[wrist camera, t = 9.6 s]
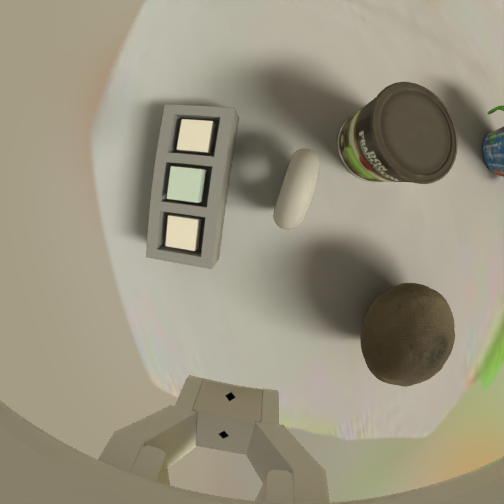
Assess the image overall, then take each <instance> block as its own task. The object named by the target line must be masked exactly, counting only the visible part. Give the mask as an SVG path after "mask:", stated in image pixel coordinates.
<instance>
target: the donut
mask: <svg viewBox="0 0 504 504" xmlns="http://www.w3.org/2000/svg"><path fill="white" fill-rule="evenodd" d="M319 169H320V162H319V158H318V156H317V155H316V153H315V152H313V151H311V150H309V149H300V150H297V151H296V152H295V153H294V154H293V155H292V157H291V160H290V162H289V165H288V168H287V171H286V174H285V177H284V180H283V183H282V186H281V190H280V193H279V196H278V199H277V202H276V206H275V209H274V215H273V217H274V221H275V223H276V224H277V225H278V226H279V227H280V228H282V229H286V230H290V229H294V228H296V227H297V226H298V225H299V224H300V223H301V222H302V220H303V218H304V216H305V214H306V212H307V210H308V207H309V205H310V202H311V199H312V196H313V194H314V190H315V187H316V183H317V179H318V175H319Z"/></svg>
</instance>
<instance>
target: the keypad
mask: <svg viewBox="0 0 504 504" xmlns="http://www.w3.org/2000/svg"><path fill="white" fill-rule="evenodd" d="M182 119H188V120H205V121H213V122H214V123H215V124H216V126H215V132H214V138H213V144H212V150H211V154H206V153H196V152H184V151H179V150H177V144H178V138H179V132H180V126H181V121H182ZM238 122H239V116H238V114H237V112H236V110H235V108H225V107H212V106H195V105H165V107H164V112H163V117H162V122H161V128H160V133H159V139H158V146H157V152H156V159H155V166H154V174H153V182H152V190H151V199H150V210H149V221H148V234H147V251H146V257H148V258H154V259H159V260H164V261H170V262H175V263H181V264H186V265H192V266H198V267H203V268H209V269H212V268H213V266H214V265H215V263H216V262H217V260H218V259H219V252H220V244H221V236H222V229H223V221H224V214H225V207H226V200H227V193H228V186H229V179H230V172H231V166H232V159H233V153H234V146H235V140H236V134H237V128H238ZM171 166H174V167H185V168H194V169H203V170H206V176H205V183H204V190H203V197H202V202H199V203H196V202H188V201H181V200H173V199H167V192H168V184H169V176H170V169H171ZM171 214H178V215H185V216H192V217H199V218H202V222H201V230H200V239H199V248H198V249H196V250H195V251H192V250H186V249H180V248H174V247H168V246H165V245H166V233H167V222H168V215H171Z"/></svg>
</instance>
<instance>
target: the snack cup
mask: <svg viewBox="0 0 504 504" xmlns="http://www.w3.org/2000/svg"><path fill="white" fill-rule="evenodd" d="M497 110H503V111H504V106H498V107H496V108H494V109H492V110H490V111H489V112H488V114H491V113H493V112H495V111H497ZM482 152H483V154H484V159H485V161H486V163H487V165H488V168H489V169H490V171H492V172H493V173H495V174H497V175H500V176H504V127H502V128H500V129H497V130H495V131H493V132H491V133H489V134H487V136H486V137H485V139H484V142H483V148H482Z"/></svg>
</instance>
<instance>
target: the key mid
mask: <svg viewBox="0 0 504 504" xmlns="http://www.w3.org/2000/svg"><path fill="white" fill-rule="evenodd" d="M205 176H206V170H203V169H194V168H185V167H174V166H171V169H170V176H169V184H168V192H167V199H173V200H181V201H188V202H196V203H199V202H202V197H203V190H204V183H205Z"/></svg>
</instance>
